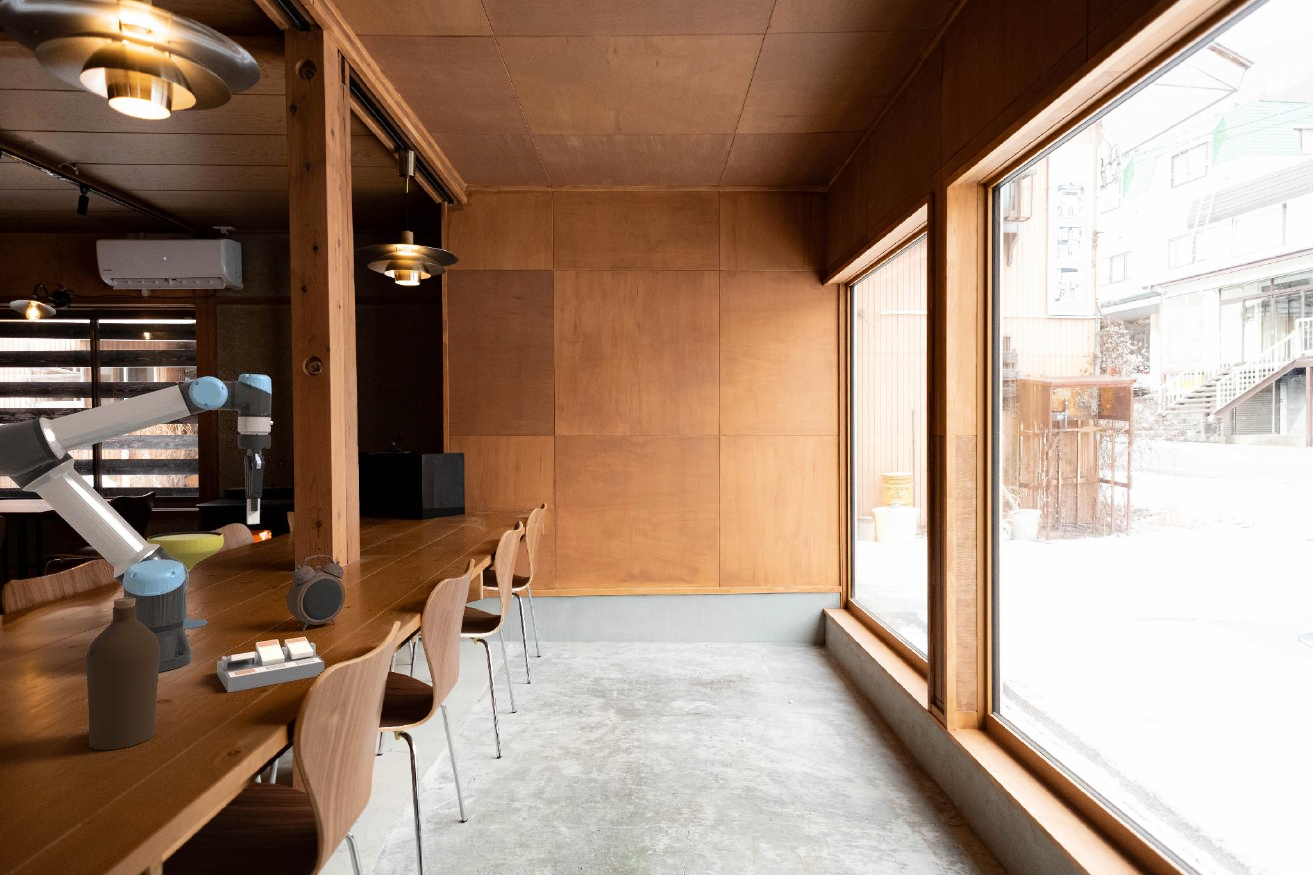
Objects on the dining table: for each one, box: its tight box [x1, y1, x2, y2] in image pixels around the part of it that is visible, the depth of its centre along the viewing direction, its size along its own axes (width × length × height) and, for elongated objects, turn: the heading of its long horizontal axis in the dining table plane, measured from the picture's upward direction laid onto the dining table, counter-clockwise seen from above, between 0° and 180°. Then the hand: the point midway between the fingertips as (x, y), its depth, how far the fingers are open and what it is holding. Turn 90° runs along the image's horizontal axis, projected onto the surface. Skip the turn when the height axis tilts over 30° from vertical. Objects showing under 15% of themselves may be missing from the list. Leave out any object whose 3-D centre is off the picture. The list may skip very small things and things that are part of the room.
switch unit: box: [216, 642, 325, 693], centre depth 164 cm, size 19×14×5 cm
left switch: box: [226, 651, 255, 662], centre depth 161 cm, size 4×8×1 cm, turn 39°
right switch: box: [284, 636, 313, 659], centre depth 169 cm, size 4×8×1 cm, turn 39°
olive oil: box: [85, 596, 160, 751], centre depth 129 cm, size 11×11×25 cm
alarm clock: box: [286, 554, 346, 631], centre depth 204 cm, size 15×7×20 cm, turn 143°
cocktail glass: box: [146, 530, 225, 631], centre depth 202 cm, size 18×18×25 cm
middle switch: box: [255, 638, 285, 666], centre depth 165 cm, size 4×8×1 cm, turn 39°
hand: (253, 523), depth 191 cm, fingers closed
